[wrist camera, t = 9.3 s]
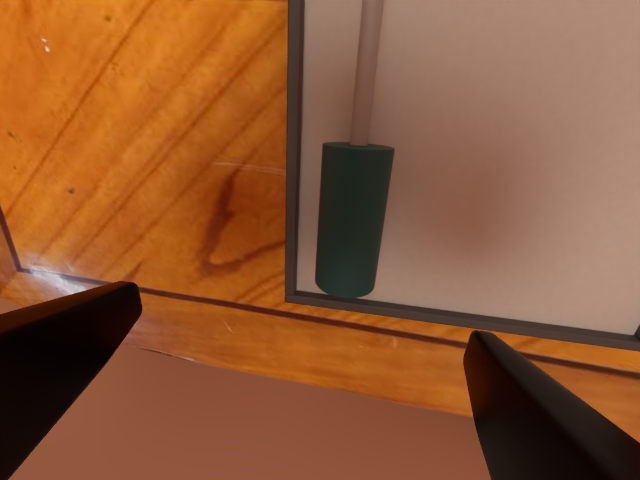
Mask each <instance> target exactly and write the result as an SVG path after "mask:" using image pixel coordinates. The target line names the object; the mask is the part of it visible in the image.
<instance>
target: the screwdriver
mask: <svg viewBox="0 0 640 480" xmlns="http://www.w3.org/2000/svg"><path fill="white" fill-rule="evenodd" d="M383 3H384V0H362V11H361V22H360V33H359V44H358V55H357V66H356V78H355V89H354V100H353V111H352V122H351V133H350V142H326V143H323V145H322V162H321V180H320V197H319V215H318V232H317V250H316V267H315V283H316V285H317V286H318V288H319V289H320V290H322V291H323V292H325V293H327V294H329V295H332V296H336V297H340V298H359V297H363V296H366V295H368V294H369V293H371V292H372V291H373V289H374V287H375V281H376V274H377V267H378V260H379V253H380V247H381V240H382V233H383V226H384V219H385V212H386V206H387V199H388V192H389V185H390V178H391V172H392V165H393V158H394V151H395V149H394V148H393V147H389V146H384V145H376V144H368V136H369V127H370V119H371V110H372V101H373V92H374V83H375V74H376V65H377V56H378V47H379V39H380V30H381V21H382V12H383Z"/></svg>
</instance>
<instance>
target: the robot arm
mask: <svg viewBox="0 0 640 480" xmlns="http://www.w3.org/2000/svg"><path fill="white" fill-rule="evenodd" d="M141 313H142V303H141V298H140V293H139V288H138V286H137V285H136V284H135V283H133V282H126V281H118V282H114V283H111V284H107V285H104V286H100V287H97V288H93V289H89V290H86V291H82V292H79V293H75V294H71V295H68V296H64V297H61V298H57V299H53V300H50V301H46V302H43V303H39V304H36V305H32V306H28V307H25V308H21V309H18V310H14V311H11V312H7V313H3V314H0V480H8V479H9V478H10V477H11V476H12V475H13V473H14V472H15V471H16V470H17V469H18V467H19V466H20V465H21V464H22V463H23V461H24V460H25V459H26V458H27V457H28V456H29V454H30V453H31V452H32V451H33V450H34V449H35V447H36V446H37V445H38V444H39V443H40V441H41V440H42V439H43V438H44V437H45V436H46V434H47V433H48V432H49V431H50V430H51V428H52V427H53V426H54V425H55V424H56V423H57V421H58V420H59V419H60V418H61V417H62V416H63V414H64V413H65V412H66V411H67V409H68V408H69V407H70V406H71V405H72V404H73V403H74V401H75V400H76V399H77V398H78V397H79V395H80V394H81V393H82V392H83V391H84V390H85V388H86V387H87V386H88V385H89V383H90V382H91V381H92V380H93V379H94V378H95V377H96V375H97V374H98V373H99V372H100V370H101V369H102V368H103V367H104V366H105V364H106V363H107V362H108V360H109V359H110V358H111V356H112V355H113V354H114V352H115V350H116V349H117V348H118V346H119V345H120V344H121V342H122V341H123V340H124V338H125V337H126V335H127V334H128V333H129V331H130V330H131V328H132V327H133V325H134V324H135V323H136V321H137V320H138V318H139V317H140V315H141ZM463 365H464V370H465V376H466V381H467V386H468V391H469V396H470V401H471V407H472V412H473V417H474V421H475V426H476V430H477V434H478V437H479V441H480V444H481V447H482V451H483V454H484V457H485V460H486V464H487V467H488V470H489V473H490V476H491V480H640V443H639V442H638V441H636V440H635V439H634V438H632V437H631V436H630V435H628V434H627V433H626V432H624V431H623V430H622V429H620V428H619V427H617V426H616V425H615V424H613V423H612V422H611V421H609V420H608V419H607V418H605V417H604V416H603V415H601V414H600V413H599V412H597V411H596V410H595V409H593V408H592V407H591V406H589V405H588V404H587V403H585V402H584V401H583V400H581V399H580V398H579V397H577V396H576V395H575V394H573V393H572V392H571V391H569V390H568V389H567V388H565V387H564V386H563V385H561V384H560V383H559V382H557V381H556V380H555V379H553V378H552V377H550V376H549V375H548V374H546V373H545V372H544V371H542V370H541V369H540V368H538V367H537V366H536V365H534V364H533V363H532V362H530V361H529V360H528V359H526V358H525V357H524V356H522V355H521V354H520V353H518V352H517V351H516V350H514V349H513V348H512V347H510V346H509V345H508V344H506V343H505V342H504V341H502V340H501V339H500V338H498V337H497V336H496V335H494V334H493V333H491V332H485V331H478V330H475V331H473V332H472V333H471V335H470V338H469V341H468V344H467V347H466V351H465V354H464V358H463Z"/></svg>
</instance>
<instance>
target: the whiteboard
mask: <svg viewBox="0 0 640 480" xmlns="http://www.w3.org/2000/svg"><path fill="white" fill-rule="evenodd" d="M361 11H362V0H288V66H287V154H286V243H285V302H289V303H296V304H303V305H310V306H317V307H324V308H332V309H339V310H346V311H353V312H360V313H367V314H375V315H382V316H389V317H396V318H403V319H410V320H418V321H425V322H432V323H439V324H446V325H453V326H461V327H468V328H475V329H482V330H489V331H496V332H504V333H511V334H518V335H525V336H532V337H540V338H547V339H554V340H561V341H568V342H575V343H583V344H590V345H597V346H604V347H611V348H618V349H626V350H633V351H640V0H384V3H383V12H382V21H381V30H380V39H379V47H378V56H377V65H376V74H375V83H374V92H373V101H372V110H371V119H370V127H369V136H368V144H376V145H384V146H389V147H393V148H394V149H395V151H394V158H393V165H392V172H391V178H390V185H389V192H388V199H387V206H386V212H385V219H384V226H383V233H382V240H381V247H380V253H379V260H378V267H377V274H376V281H375V287H374V289H373V291H372V292H371V293H369V294H368V295H366V296H363V297H359V298H340V297H336V296H332V295H329V294H327V293H325V292H323V291H322V290H320V289H319V288H318V286H317V285H316V283H315V267H316V250H317V232H318V215H319V197H320V180H321V162H322V145H323V143H326V142H350V133H351V122H352V111H353V100H354V89H355V78H356V66H357V55H358V44H359V33H360V22H361Z"/></svg>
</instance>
